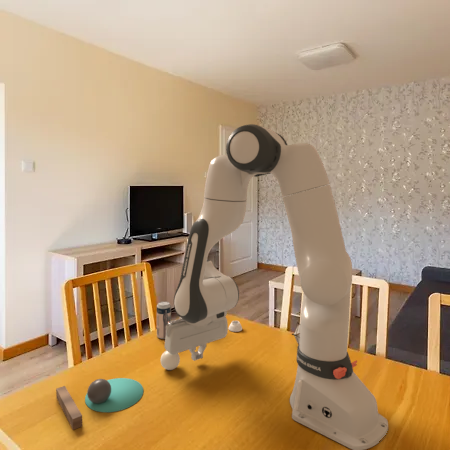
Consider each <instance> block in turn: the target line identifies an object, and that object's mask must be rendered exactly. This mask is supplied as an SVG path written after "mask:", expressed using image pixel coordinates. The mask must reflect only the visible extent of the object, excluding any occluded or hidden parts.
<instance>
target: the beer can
mask: <svg viewBox="0 0 450 450" xmlns="http://www.w3.org/2000/svg"><path fill="white" fill-rule="evenodd" d="M170 321H172V305H171V303H170V302H169V301H160V302H158V303H157V305H156V337H157V338H159V339H161V340H165V337H166V326H167V325H168V324H169V323H170Z"/></svg>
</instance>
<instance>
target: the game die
mask: <svg viewBox="0 0 450 450" xmlns="http://www.w3.org/2000/svg"><path fill="white" fill-rule="evenodd" d="M296 324H297V327H296V328H295V331H294V333H291V336H294V338H295V341H296V343H297V346H298V345H299V340H300V322H299V321H297V323H296Z"/></svg>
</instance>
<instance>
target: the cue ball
mask: <svg viewBox="0 0 450 450" xmlns="http://www.w3.org/2000/svg"><path fill="white" fill-rule="evenodd" d="M180 362H181V358H180V355H179V353H176V354H173V355H172V354H170V353H169V352H168V351H167V350H165V351H164V352H162V354H161V356H160V364H161V366H162V368H164V369H165V370H166V371H172V370H175V369H177V367H178V366H179V365H180Z"/></svg>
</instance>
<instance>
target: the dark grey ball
mask: <svg viewBox="0 0 450 450" xmlns="http://www.w3.org/2000/svg"><path fill="white" fill-rule="evenodd" d="M107 380H108V379H104V378H99V379H95V380H93V381H92V382H91V383H90V384H89V386H88V387H87V392H86V394H87V395H88V398H89V400H90V401H91V402H92V403H95V404H101V403H103V402H105V401H106V400H107V399H108V398H109V397H110V394H111V385H110V383H109V382H108V381H107Z"/></svg>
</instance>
